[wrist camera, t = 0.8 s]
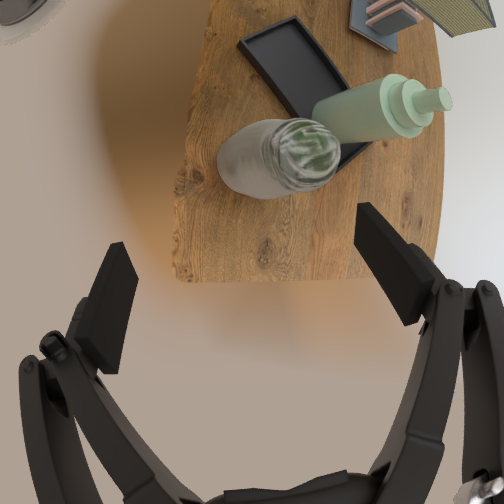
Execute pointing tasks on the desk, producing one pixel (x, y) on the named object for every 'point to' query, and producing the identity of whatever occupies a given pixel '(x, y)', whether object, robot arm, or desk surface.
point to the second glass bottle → (381, 109)
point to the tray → (297, 72)
